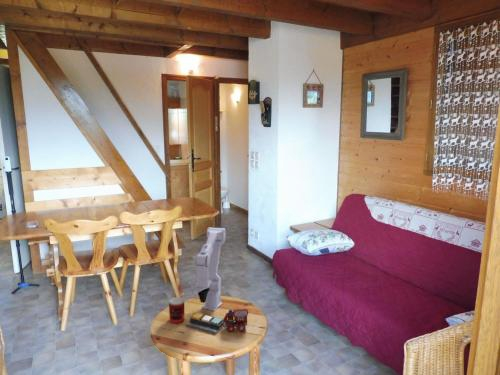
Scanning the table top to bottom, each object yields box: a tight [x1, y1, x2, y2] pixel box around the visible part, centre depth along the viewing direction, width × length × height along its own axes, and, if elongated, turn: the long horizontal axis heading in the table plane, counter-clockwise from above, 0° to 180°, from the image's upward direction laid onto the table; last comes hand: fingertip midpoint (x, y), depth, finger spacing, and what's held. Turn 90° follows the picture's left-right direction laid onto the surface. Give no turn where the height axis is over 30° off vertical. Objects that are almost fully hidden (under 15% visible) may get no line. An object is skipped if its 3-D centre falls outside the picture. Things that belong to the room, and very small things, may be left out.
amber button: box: [191, 312, 204, 320], centre depth 194 cm, size 4×4×2 cm
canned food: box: [168, 296, 186, 325], centre depth 195 cm, size 8×8×11 cm
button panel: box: [185, 312, 224, 335], centre depth 192 cm, size 12×17×3 cm
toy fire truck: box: [222, 308, 249, 333], centre depth 188 cm, size 7×12×10 cm, turn 96°
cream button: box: [202, 314, 212, 323], centre depth 192 cm, size 4×4×2 cm
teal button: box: [211, 317, 223, 325], centre depth 190 cm, size 4×4×2 cm
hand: (203, 302), depth 195 cm, fingers closed
